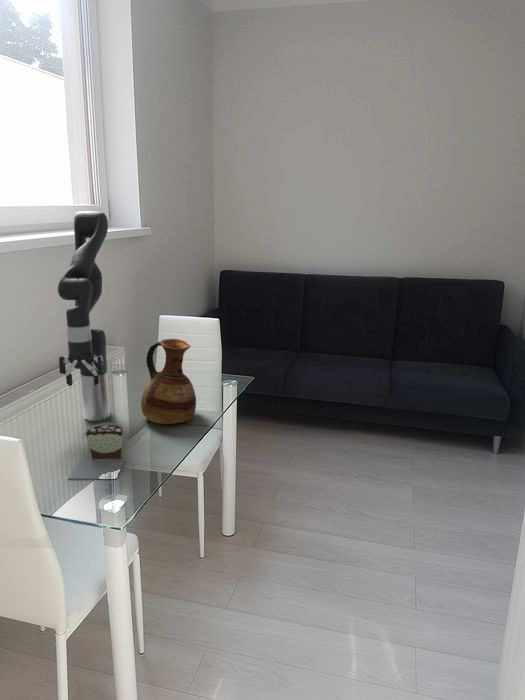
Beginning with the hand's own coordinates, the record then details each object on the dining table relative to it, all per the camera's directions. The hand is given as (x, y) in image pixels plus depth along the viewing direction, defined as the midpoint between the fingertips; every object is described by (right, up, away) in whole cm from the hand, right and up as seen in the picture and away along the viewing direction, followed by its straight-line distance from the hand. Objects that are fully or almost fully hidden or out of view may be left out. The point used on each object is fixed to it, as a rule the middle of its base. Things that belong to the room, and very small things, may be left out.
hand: (83, 385), depth 178 cm
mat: (+11, -24, -20) cm, 33 cm away
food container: (+12, -22, -10) cm, 27 cm away
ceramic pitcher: (+26, -14, +17) cm, 34 cm away
